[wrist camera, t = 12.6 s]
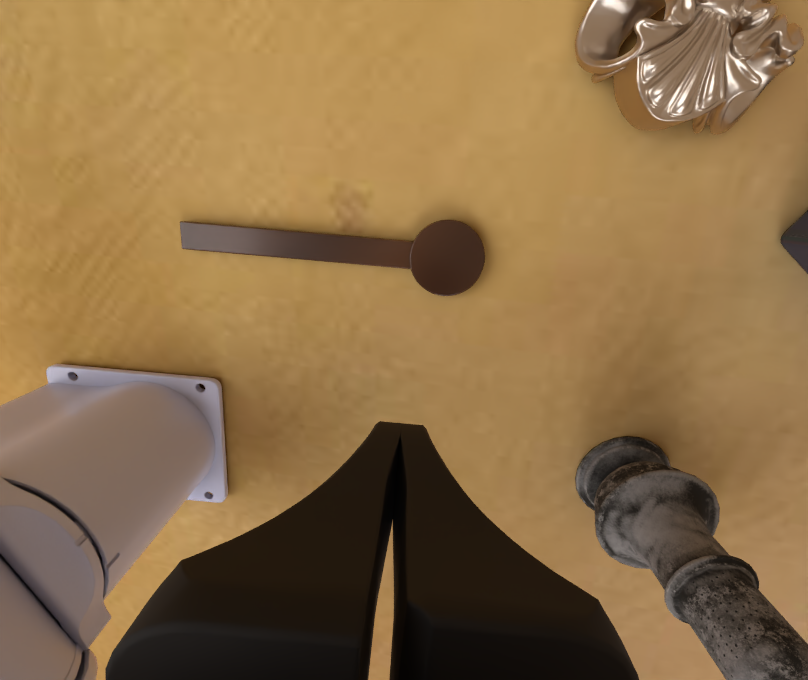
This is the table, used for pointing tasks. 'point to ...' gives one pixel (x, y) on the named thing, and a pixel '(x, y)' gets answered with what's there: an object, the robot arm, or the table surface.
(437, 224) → the brown disc-ended stick
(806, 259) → the calculator
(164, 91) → the table surface
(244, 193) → the table surface
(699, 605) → the grey stone chess piece
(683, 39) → the ornament
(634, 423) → the table surface
